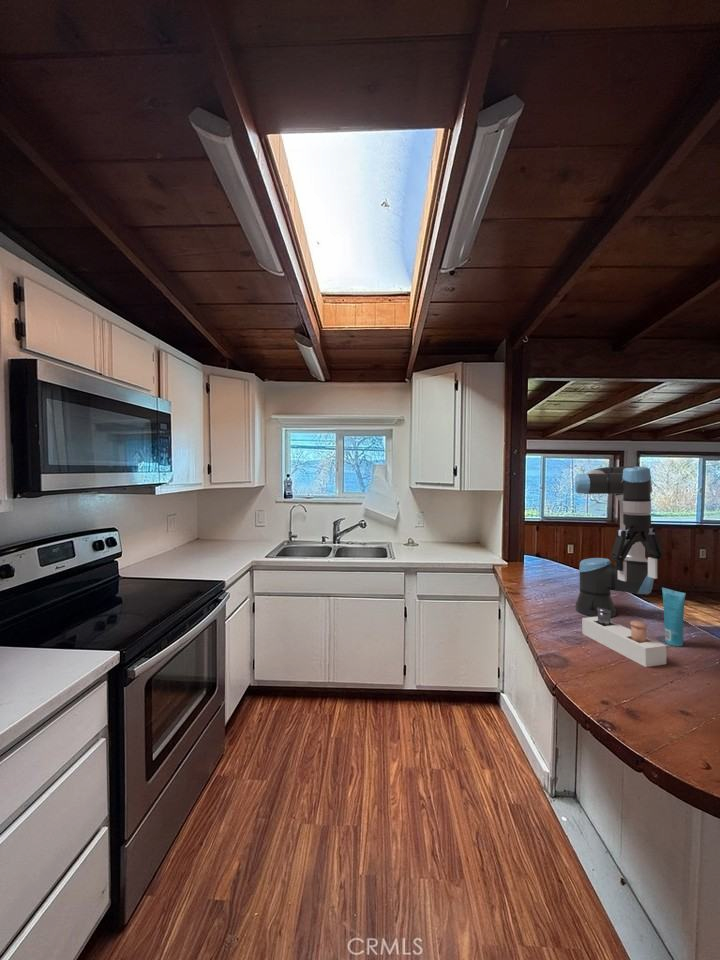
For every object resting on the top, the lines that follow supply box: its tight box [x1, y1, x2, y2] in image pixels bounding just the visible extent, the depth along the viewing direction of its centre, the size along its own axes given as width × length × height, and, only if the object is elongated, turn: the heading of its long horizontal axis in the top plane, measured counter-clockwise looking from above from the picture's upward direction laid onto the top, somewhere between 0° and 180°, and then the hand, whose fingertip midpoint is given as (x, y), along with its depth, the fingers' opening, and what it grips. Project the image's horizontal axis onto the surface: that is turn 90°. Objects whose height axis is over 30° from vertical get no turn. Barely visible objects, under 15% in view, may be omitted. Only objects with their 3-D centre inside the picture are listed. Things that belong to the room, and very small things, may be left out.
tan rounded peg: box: [630, 620, 648, 643], centre depth 127 cm, size 4×4×7 cm
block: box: [581, 616, 667, 668], centre depth 134 cm, size 8×26×6 cm, turn 11°
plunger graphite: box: [597, 607, 612, 626], centre depth 141 cm, size 4×4×7 cm
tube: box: [661, 587, 687, 647], centre depth 136 cm, size 7×5×19 cm, turn 26°
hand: (637, 579), depth 127 cm, fingers open, 11 cm apart
